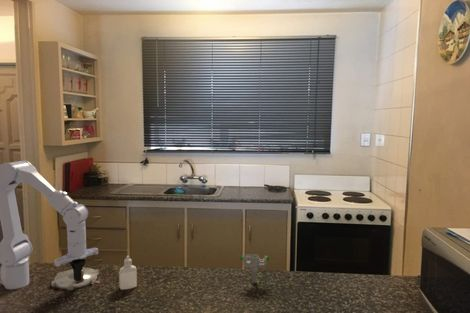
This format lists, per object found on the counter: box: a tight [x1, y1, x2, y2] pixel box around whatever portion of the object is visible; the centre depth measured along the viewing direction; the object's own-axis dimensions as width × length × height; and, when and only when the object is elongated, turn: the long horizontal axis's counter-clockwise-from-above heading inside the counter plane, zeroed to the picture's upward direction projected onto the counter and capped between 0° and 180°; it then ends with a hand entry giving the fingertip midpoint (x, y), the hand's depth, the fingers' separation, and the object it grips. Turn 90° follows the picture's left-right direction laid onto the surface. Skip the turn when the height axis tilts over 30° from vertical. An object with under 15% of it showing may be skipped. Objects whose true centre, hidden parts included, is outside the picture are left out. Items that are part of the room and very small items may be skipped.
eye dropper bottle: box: [118, 255, 138, 290], centre depth 119 cm, size 4×6×12 cm
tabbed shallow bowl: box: [51, 266, 100, 291], centre depth 123 cm, size 14×16×6 cm
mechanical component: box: [240, 253, 270, 284], centre depth 126 cm, size 3×10×10 cm, turn 89°
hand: (78, 279), depth 118 cm, fingers closed, pressing on tabbed shallow bowl
